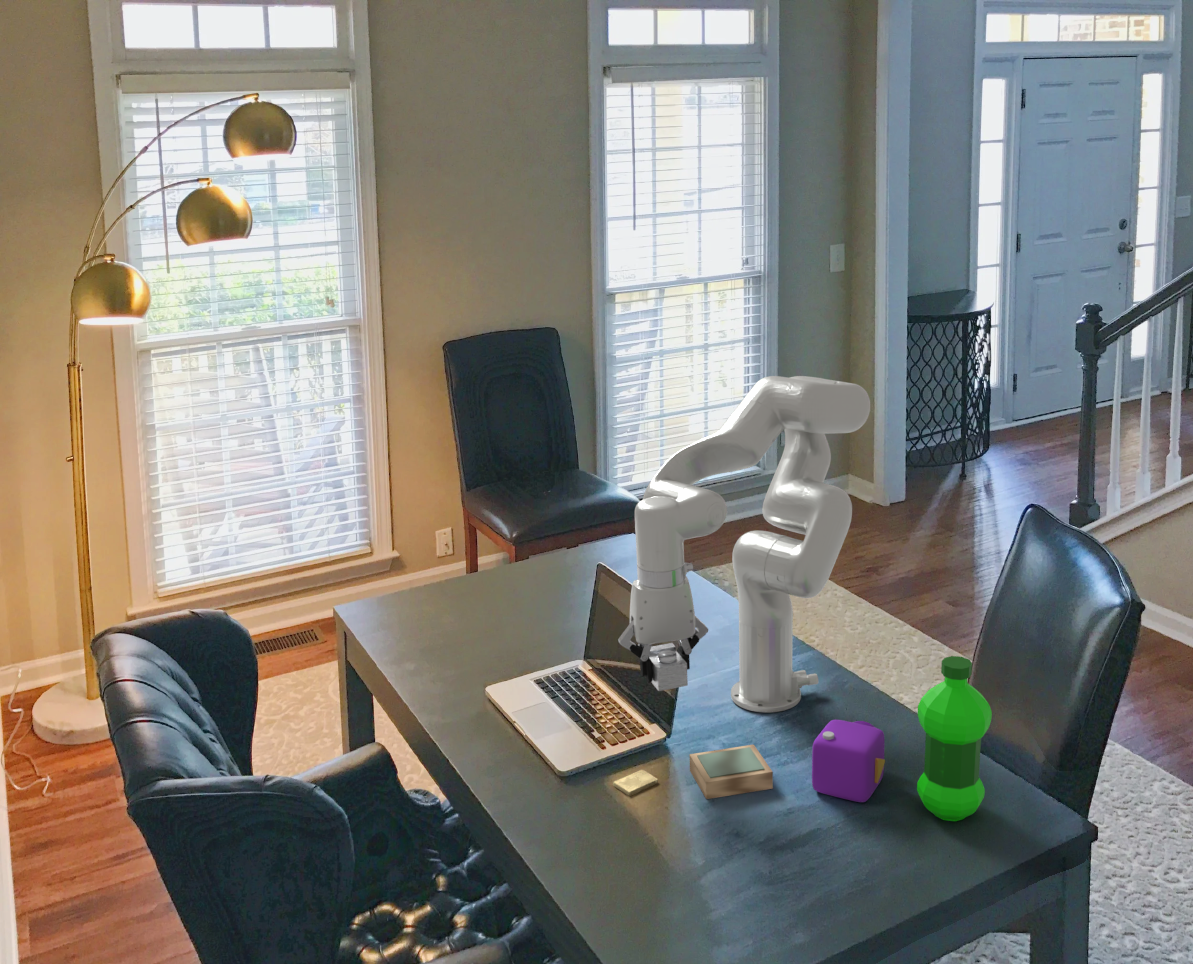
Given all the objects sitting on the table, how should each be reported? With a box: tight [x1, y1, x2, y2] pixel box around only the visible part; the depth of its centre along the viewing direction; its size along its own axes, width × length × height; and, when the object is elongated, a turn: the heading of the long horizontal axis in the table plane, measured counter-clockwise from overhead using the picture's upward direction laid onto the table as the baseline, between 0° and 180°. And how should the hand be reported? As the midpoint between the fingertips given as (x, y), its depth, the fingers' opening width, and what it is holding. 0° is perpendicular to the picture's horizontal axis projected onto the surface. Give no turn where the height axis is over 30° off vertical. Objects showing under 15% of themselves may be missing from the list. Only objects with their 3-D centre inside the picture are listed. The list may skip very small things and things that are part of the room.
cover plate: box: [612, 769, 659, 797], centre depth 205 cm, size 6×4×1 cm, turn 127°
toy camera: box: [811, 719, 886, 803], centre depth 202 cm, size 11×14×10 cm
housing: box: [649, 642, 688, 692], centre depth 208 cm, size 7×5×5 cm
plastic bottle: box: [916, 655, 993, 822], centre depth 190 cm, size 10×10×25 cm
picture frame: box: [689, 744, 774, 800], centre depth 205 cm, size 11×9×3 cm
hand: (665, 675), depth 209 cm, fingers closed on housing, 5 cm apart
